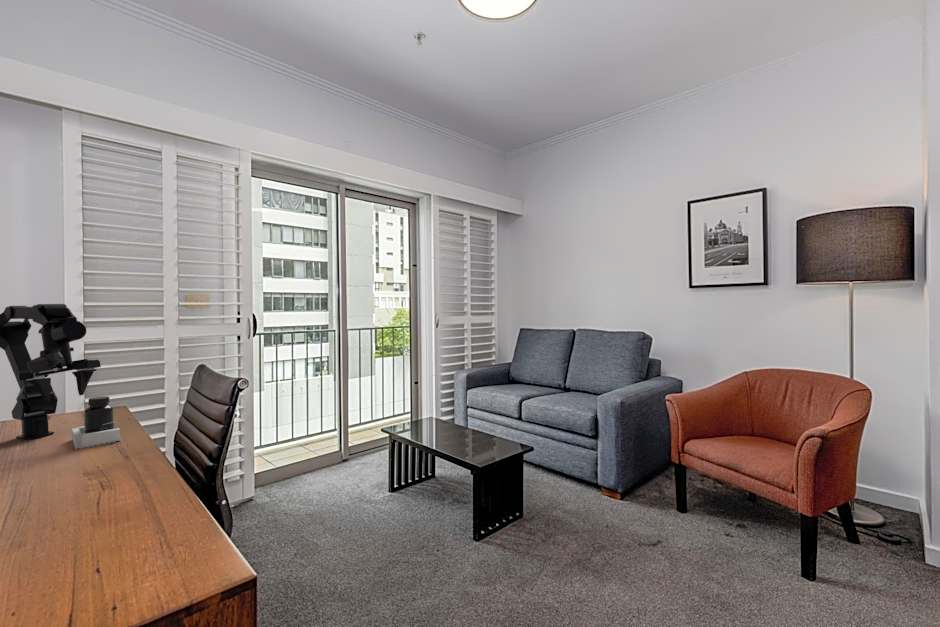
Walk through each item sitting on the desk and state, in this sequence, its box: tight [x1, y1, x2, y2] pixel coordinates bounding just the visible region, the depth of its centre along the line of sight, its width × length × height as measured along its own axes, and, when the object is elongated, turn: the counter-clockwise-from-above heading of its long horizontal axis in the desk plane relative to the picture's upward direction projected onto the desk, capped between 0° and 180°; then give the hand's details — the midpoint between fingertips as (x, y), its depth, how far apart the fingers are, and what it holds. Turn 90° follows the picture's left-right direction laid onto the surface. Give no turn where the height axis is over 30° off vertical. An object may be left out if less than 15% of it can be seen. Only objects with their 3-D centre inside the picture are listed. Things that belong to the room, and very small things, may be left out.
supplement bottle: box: [83, 395, 115, 434], centre depth 136 cm, size 7×7×12 cm
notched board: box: [71, 421, 121, 450], centre depth 135 cm, size 10×12×4 cm
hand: (64, 398), depth 134 cm, fingers open, 9 cm apart
